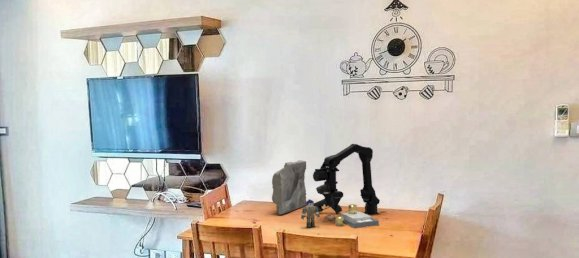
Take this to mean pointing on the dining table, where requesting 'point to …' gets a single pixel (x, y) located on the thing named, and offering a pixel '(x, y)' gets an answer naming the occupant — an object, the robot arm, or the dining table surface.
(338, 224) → the gold cylinder
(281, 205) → the fossil
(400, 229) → the dining table surface
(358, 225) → the scale
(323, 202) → the handgun
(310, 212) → the toy
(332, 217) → the brown short cylinder
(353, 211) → the brass short cylinder
